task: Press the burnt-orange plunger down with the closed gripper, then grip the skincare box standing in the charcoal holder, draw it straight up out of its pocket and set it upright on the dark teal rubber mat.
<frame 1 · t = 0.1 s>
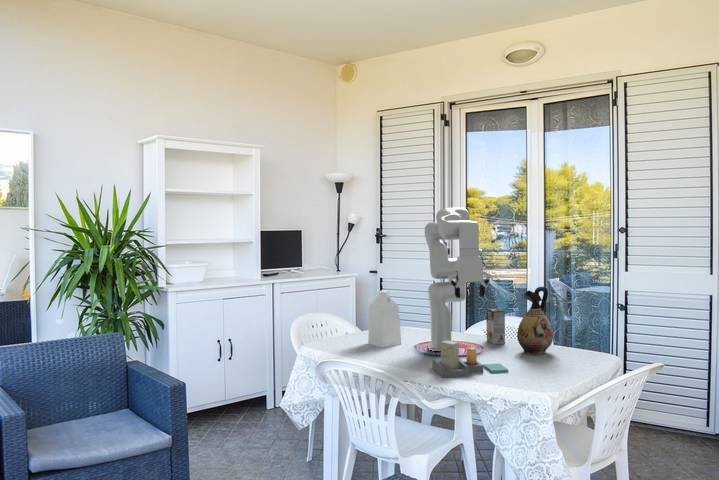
hand: (469, 296, 225), 31 cm above the table, tool pointing down, fingers open, 9 cm apart
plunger: (471, 356, 233), point 6 cm above the table, slide at 0.0 cm
ceramic jug: (536, 353, 261), on the table
socket block: (449, 371, 233), on the table
milk: (384, 344, 286), on the table
coffee box: (495, 342, 284), on the table
skincare box: (449, 372, 233), resting in socket block
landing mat: (495, 369, 235), on the table
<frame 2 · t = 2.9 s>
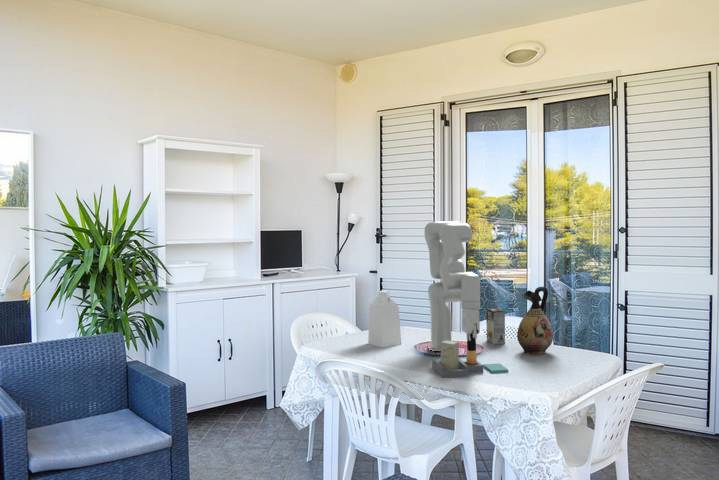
hand: (471, 350, 233), 8 cm above the table, tool pointing down, fingers closed
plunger: (471, 357, 233), point 5 cm above the table, slide at 0.6 cm, touching gripper
everything else where it was.
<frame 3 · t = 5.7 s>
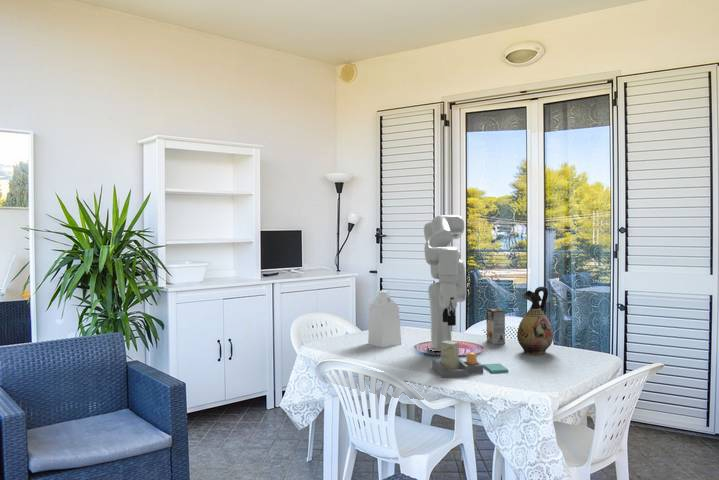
hand: (449, 323, 232), 20 cm above the table, tool pointing down, fingers open, 6 cm apart
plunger: (471, 361, 234), point 4 cm above the table, slide at 2.0 cm
everything else where it was.
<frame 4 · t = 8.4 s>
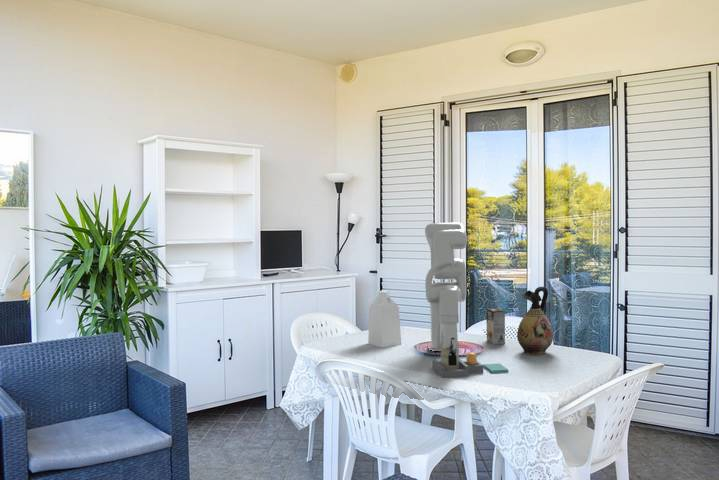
hand: (449, 362, 232), 4 cm above the table, tool pointing down, fingers closed on skincare box, 7 cm apart
skincare box: (450, 372, 233), resting in socket block, touching gripper
everything else where it was.
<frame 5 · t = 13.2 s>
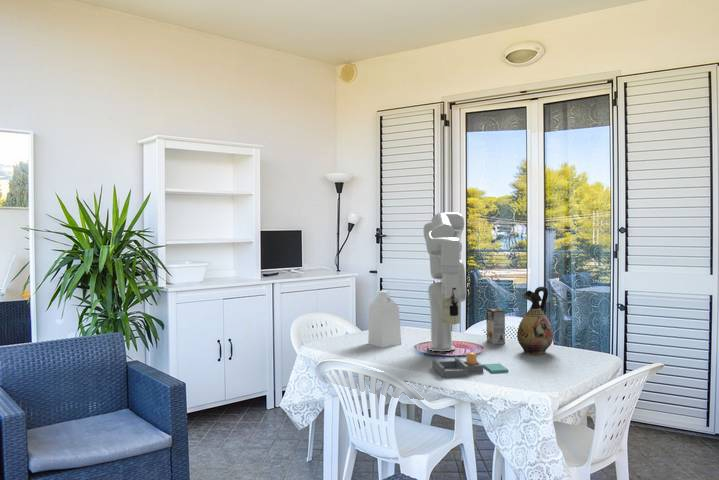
hand: (451, 313, 232), 24 cm above the table, tool pointing down, fingers closed on skincare box, 7 cm apart
skincare box: (451, 323, 232), point 19 cm above the table, touching gripper
everything else where it was.
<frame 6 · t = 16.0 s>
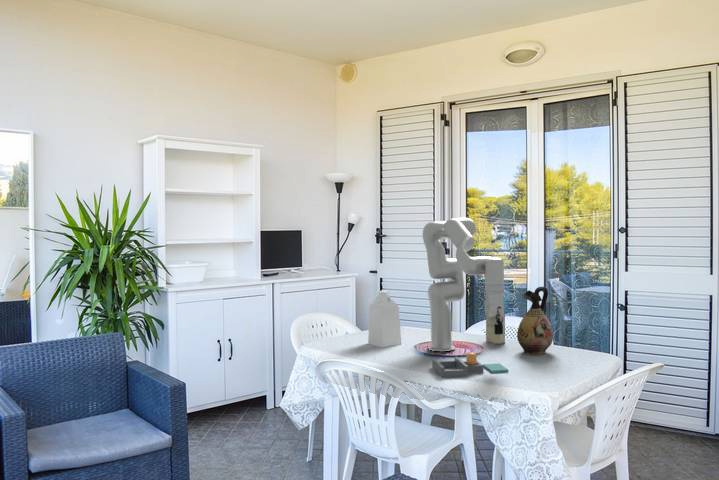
hand: (495, 331, 234), 15 cm above the table, tool pointing down, fingers closed on skincare box, 7 cm apart
skincare box: (495, 341, 234), point 11 cm above the table, touching gripper
everything else where it was.
when the fingers open (6 cm above the table, at t = 18.2 s): skincare box drops 1 cm, resting on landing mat.
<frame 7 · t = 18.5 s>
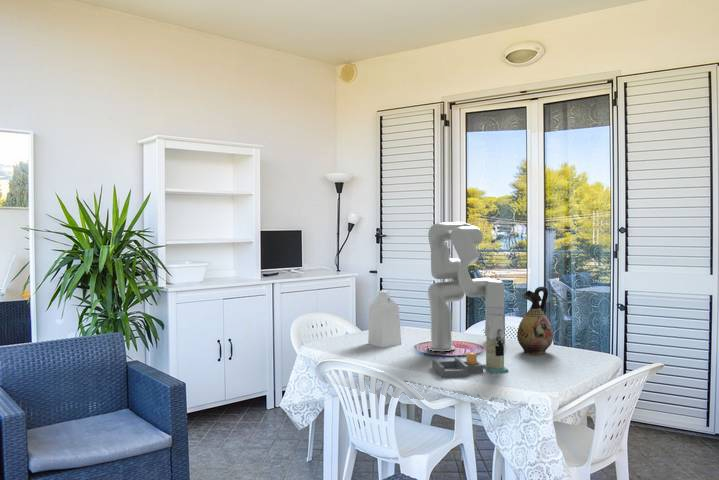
hand: (495, 352, 235), 7 cm above the table, tool pointing down, fingers open, 9 cm apart
skincare box: (495, 367, 235), point 1 cm above the table, touching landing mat
everything else where it was.
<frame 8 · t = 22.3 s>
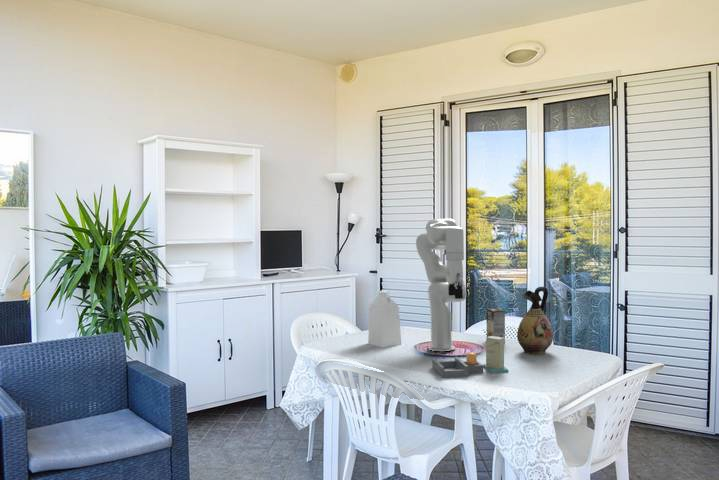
hand: (455, 296, 245), 28 cm above the table, tool pointing down, fingers open, 9 cm apart
nothing on the table moved.
at the end: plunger slide at 2.0 cm; skincare box inside the target area on the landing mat (0.2 cm from its centre), point 0.8 cm above the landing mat's base; skincare box tilted 0° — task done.
